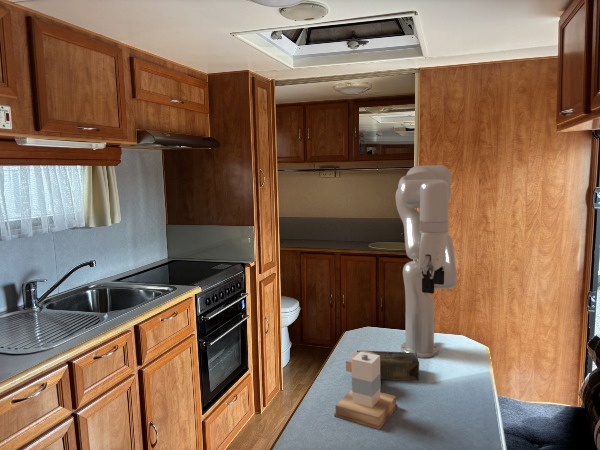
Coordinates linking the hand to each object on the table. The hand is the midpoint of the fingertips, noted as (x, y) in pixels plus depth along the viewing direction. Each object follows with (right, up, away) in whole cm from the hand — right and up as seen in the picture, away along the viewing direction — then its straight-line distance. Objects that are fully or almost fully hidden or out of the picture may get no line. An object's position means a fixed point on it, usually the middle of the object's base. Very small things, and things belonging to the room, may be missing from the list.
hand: (433, 288), depth 131 cm
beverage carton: (-10, -29, +16) cm, 35 cm away
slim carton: (-19, -29, -6) cm, 35 cm away
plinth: (-19, -32, -5) cm, 38 cm away
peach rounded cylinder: (-18, -30, +9) cm, 36 cm away
